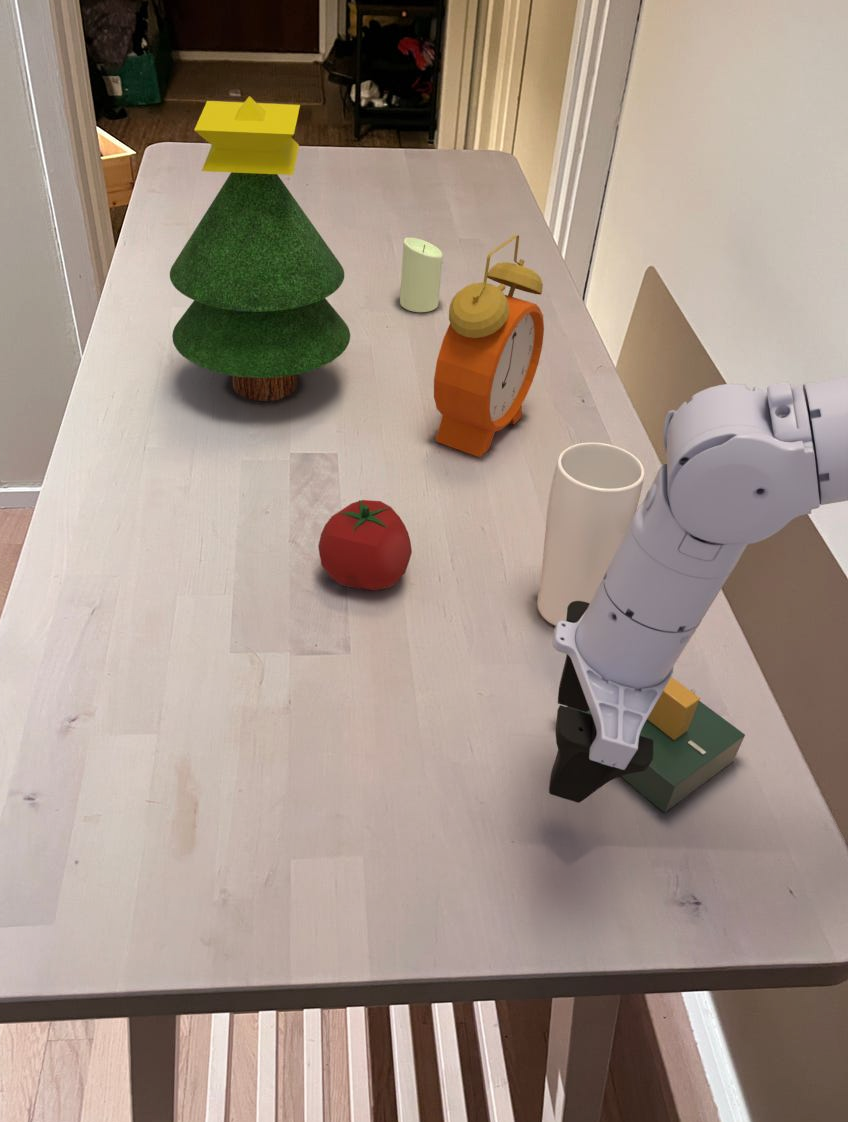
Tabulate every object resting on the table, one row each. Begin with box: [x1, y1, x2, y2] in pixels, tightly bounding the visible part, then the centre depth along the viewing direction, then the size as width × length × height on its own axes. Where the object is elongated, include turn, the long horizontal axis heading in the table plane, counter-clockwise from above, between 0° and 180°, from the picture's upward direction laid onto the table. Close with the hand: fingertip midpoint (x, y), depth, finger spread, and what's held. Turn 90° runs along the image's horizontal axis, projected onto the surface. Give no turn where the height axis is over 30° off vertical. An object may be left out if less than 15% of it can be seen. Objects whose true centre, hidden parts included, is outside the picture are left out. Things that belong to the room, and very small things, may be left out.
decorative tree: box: [169, 95, 351, 402], centre depth 102 cm, size 19×19×30 cm
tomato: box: [317, 499, 413, 591], centre depth 86 cm, size 8×8×7 cm
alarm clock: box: [433, 234, 545, 458], centre depth 100 cm, size 13×6×20 cm, turn 148°
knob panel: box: [566, 688, 746, 813], centre depth 74 cm, size 10×9×3 cm
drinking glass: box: [536, 442, 646, 627], centre depth 81 cm, size 7×7×15 cm
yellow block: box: [647, 676, 701, 740], centre depth 72 cm, size 5×2×4 cm, turn 38°
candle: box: [399, 237, 444, 313], centre depth 126 cm, size 5×5×8 cm
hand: (568, 747), depth 64 cm, fingers open, 7 cm apart
